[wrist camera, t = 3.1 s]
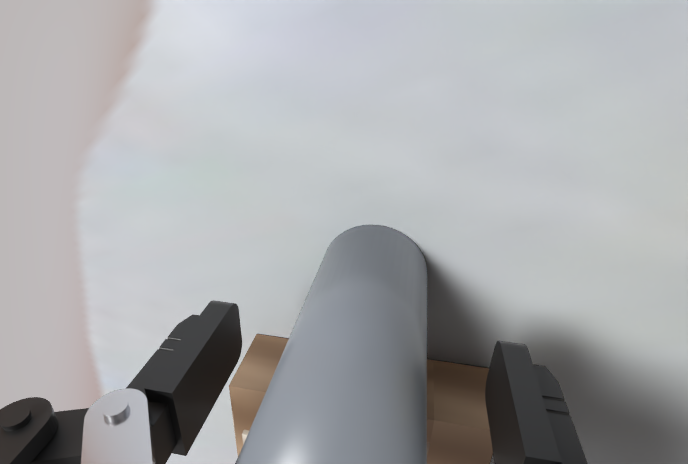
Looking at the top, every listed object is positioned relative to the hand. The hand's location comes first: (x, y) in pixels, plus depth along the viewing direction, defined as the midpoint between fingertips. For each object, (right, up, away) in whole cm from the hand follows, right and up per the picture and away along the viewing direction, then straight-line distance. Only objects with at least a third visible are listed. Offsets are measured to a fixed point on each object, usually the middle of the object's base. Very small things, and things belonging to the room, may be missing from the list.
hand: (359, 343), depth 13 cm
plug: (+1, +2, +4) cm, 4 cm away
